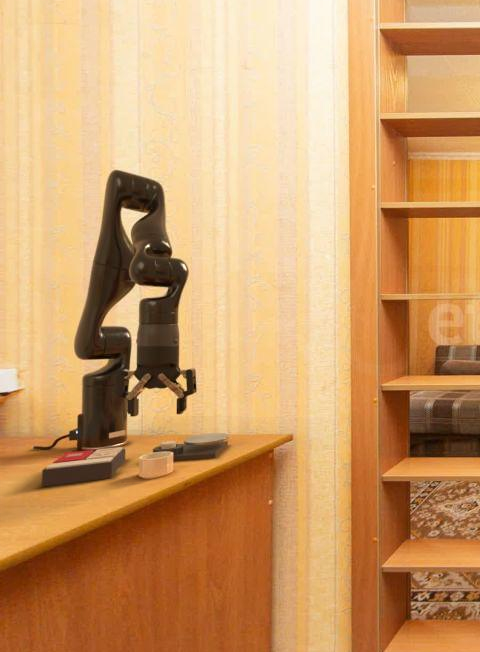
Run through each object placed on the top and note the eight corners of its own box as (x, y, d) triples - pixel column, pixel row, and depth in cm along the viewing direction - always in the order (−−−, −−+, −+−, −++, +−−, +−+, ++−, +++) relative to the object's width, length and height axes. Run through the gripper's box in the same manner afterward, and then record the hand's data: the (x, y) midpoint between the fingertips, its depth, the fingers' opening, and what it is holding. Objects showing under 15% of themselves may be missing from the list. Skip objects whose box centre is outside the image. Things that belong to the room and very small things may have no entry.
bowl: (133, 481, 95) (134, 460, 95) (145, 472, 101) (146, 452, 101) (166, 478, 98) (167, 458, 98) (176, 469, 103) (177, 450, 103)
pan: (177, 446, 112) (177, 444, 112) (191, 436, 121) (191, 434, 121) (223, 443, 115) (223, 441, 115) (232, 434, 124) (233, 432, 124)
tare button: (158, 450, 109) (158, 444, 109) (163, 447, 112) (163, 441, 112) (173, 449, 110) (173, 443, 110) (177, 446, 113) (177, 440, 113)
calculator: (126, 445, 109) (112, 458, 97) (125, 462, 109) (111, 478, 96) (64, 451, 103) (41, 466, 91) (64, 469, 103) (40, 487, 90)
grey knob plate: (148, 463, 107) (148, 451, 107) (167, 449, 118) (167, 438, 118) (215, 458, 112) (215, 446, 112) (227, 445, 123) (227, 435, 123)
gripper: (200, 343, 105) (199, 410, 105) (127, 342, 100) (126, 413, 100) (190, 344, 98) (188, 416, 98) (110, 344, 93) (109, 420, 93)
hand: (157, 414), depth 99 cm, fingers open, 8 cm apart
